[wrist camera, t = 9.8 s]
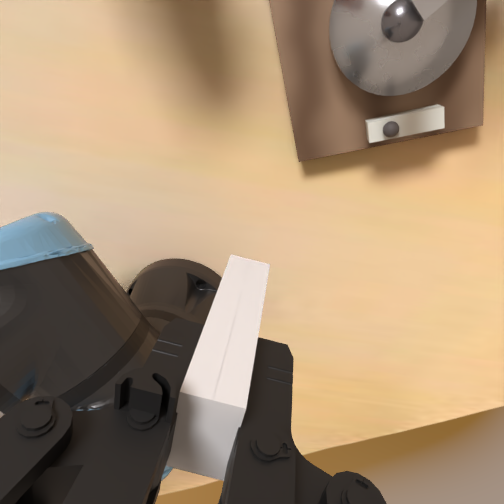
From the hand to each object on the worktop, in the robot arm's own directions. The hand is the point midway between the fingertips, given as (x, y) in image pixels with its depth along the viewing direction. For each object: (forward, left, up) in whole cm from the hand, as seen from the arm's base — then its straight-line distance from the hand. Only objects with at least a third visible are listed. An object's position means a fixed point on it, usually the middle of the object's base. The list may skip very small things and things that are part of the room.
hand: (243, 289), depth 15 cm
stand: (+9, +10, -29) cm, 32 cm away
